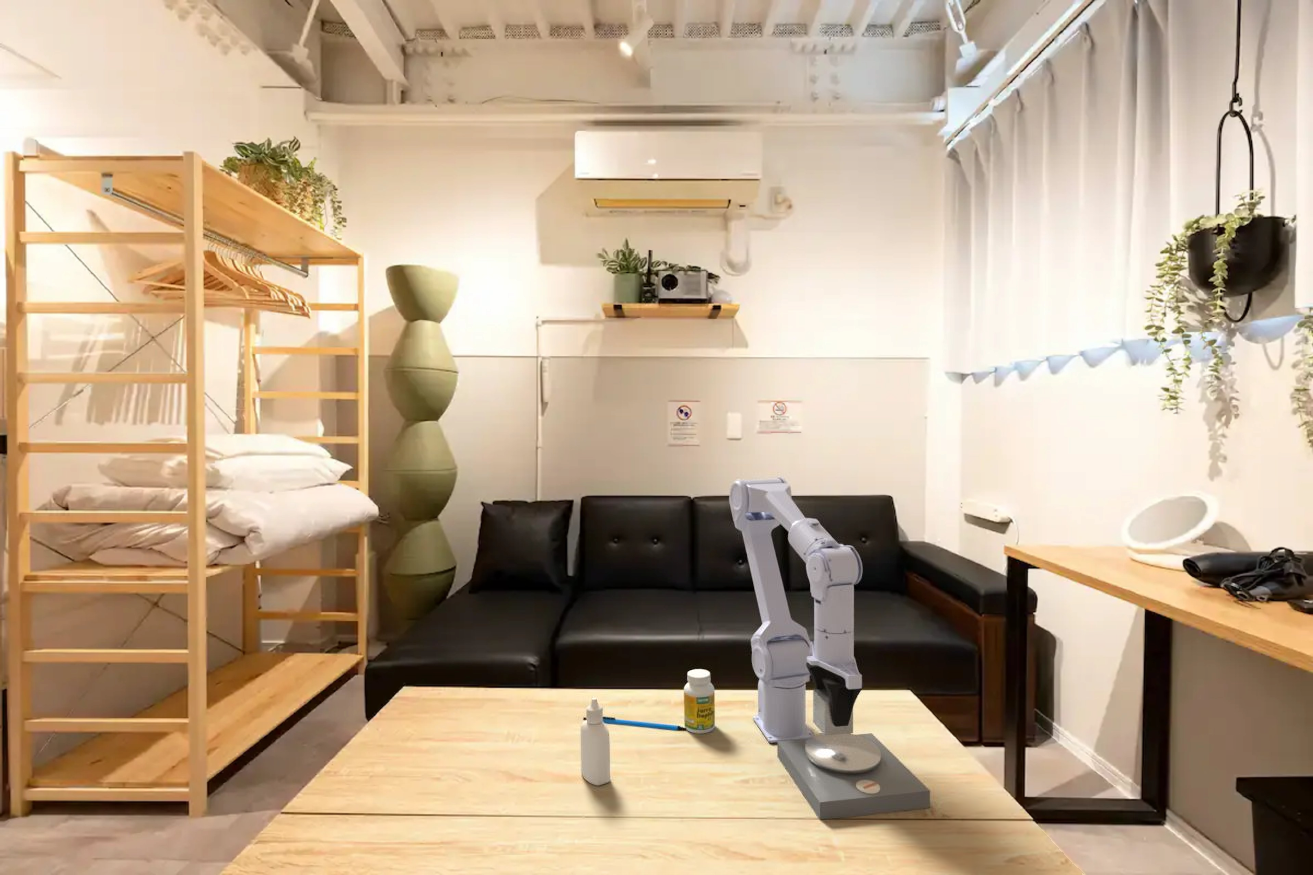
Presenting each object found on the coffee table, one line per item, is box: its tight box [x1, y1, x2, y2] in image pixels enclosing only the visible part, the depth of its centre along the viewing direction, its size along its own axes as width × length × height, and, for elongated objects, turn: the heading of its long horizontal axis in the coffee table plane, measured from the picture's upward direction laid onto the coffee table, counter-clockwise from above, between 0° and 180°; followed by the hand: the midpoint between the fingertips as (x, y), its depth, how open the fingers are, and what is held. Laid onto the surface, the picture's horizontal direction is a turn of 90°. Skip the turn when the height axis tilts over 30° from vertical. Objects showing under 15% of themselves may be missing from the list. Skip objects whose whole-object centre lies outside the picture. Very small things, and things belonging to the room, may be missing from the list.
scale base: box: [776, 732, 931, 821], centre depth 100 cm, size 17×16×3 cm
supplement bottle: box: [683, 668, 716, 735], centre depth 117 cm, size 5×5×10 cm
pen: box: [583, 716, 688, 731], centre depth 119 cm, size 1×19×1 cm, turn 76°
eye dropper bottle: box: [580, 697, 611, 787], centre depth 101 cm, size 4×6×12 cm
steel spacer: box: [812, 689, 854, 735], centre depth 101 cm, size 4×4×5 cm
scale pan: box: [805, 732, 881, 773], centre depth 102 cm, size 11×11×1 cm
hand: (833, 717), depth 101 cm, fingers closed on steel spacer, 4 cm apart
